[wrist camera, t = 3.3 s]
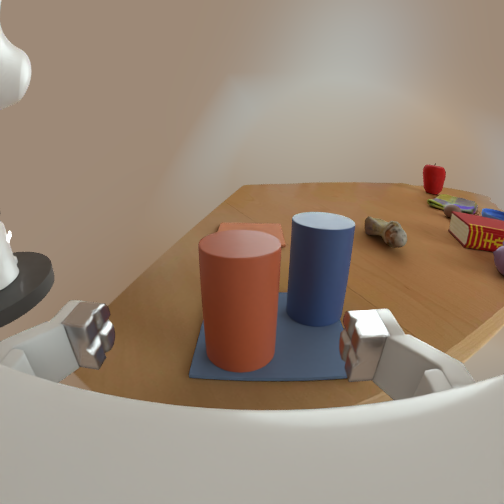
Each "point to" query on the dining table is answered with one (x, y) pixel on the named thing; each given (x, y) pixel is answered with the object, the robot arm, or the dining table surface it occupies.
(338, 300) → the blue canister
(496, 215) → the bowl
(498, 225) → the book
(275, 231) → the terracotta mat
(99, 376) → the dining table surface
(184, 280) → the dining table surface
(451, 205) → the egg
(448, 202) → the dish towel
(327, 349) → the blue mat
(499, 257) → the figurine
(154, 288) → the dining table surface
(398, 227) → the weathered bone fragment
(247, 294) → the terracotta canister
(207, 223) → the dining table surface
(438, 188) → the apple
